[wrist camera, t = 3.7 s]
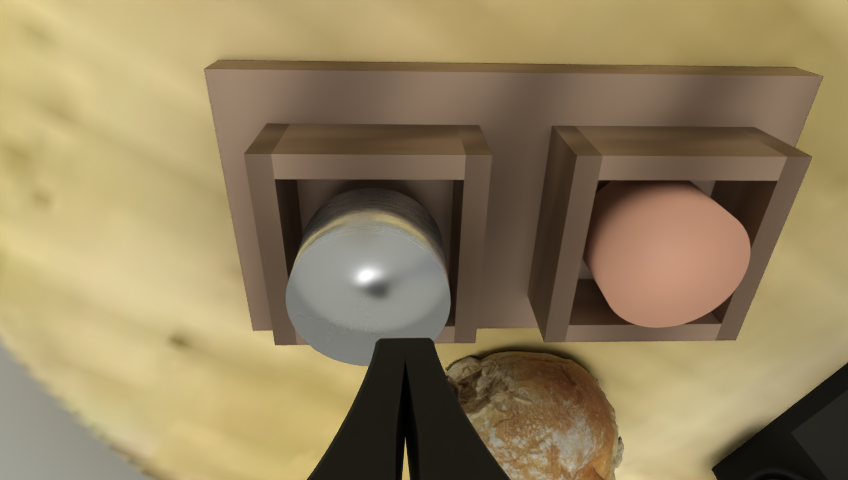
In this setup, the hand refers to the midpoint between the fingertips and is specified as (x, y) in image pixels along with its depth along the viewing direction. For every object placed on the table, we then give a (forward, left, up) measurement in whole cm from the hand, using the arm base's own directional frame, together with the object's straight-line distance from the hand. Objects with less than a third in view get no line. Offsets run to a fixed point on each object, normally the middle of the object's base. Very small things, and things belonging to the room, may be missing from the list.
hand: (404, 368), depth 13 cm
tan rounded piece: (-9, 0, -7) cm, 12 cm away
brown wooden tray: (-4, 0, -10) cm, 10 cm away
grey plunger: (+1, 0, -6) cm, 6 cm away
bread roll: (-6, +13, -10) cm, 17 cm away
